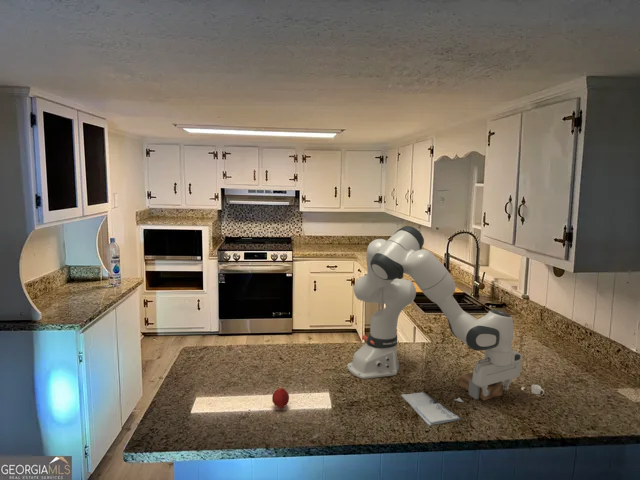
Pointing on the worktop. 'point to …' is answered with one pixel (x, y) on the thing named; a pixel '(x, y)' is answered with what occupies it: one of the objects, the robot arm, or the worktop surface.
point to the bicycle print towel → (430, 408)
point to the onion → (280, 397)
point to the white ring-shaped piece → (535, 389)
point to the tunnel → (475, 389)
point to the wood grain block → (493, 388)
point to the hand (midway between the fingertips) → (495, 392)
